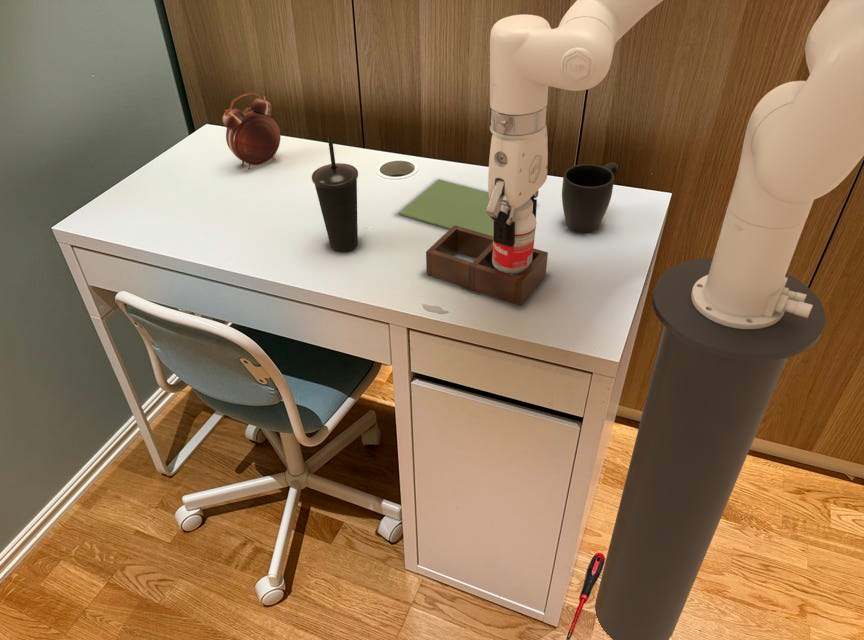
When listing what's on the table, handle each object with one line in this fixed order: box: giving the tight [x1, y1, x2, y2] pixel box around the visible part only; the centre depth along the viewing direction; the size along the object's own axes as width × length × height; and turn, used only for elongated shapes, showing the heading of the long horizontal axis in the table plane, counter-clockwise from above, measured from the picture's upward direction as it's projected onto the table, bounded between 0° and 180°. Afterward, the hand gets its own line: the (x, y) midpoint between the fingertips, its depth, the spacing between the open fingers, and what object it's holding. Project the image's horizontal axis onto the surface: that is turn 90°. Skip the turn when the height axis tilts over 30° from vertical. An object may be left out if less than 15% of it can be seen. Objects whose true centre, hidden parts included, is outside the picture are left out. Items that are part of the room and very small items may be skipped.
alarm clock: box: [222, 91, 281, 170], centre depth 146 cm, size 11×5×15 cm, turn 124°
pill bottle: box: [492, 196, 537, 275], centre depth 108 cm, size 6×6×11 cm
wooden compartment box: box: [425, 225, 549, 306], centre depth 114 cm, size 17×9×4 cm, turn 55°
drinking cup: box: [311, 136, 359, 253], centre depth 119 cm, size 8×8×20 cm
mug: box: [561, 162, 619, 234], centre depth 122 cm, size 8×12×10 cm
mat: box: [398, 179, 505, 236], centre depth 131 cm, size 20×14×1 cm
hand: (514, 231), depth 107 cm, fingers closed on pill bottle, 6 cm apart
